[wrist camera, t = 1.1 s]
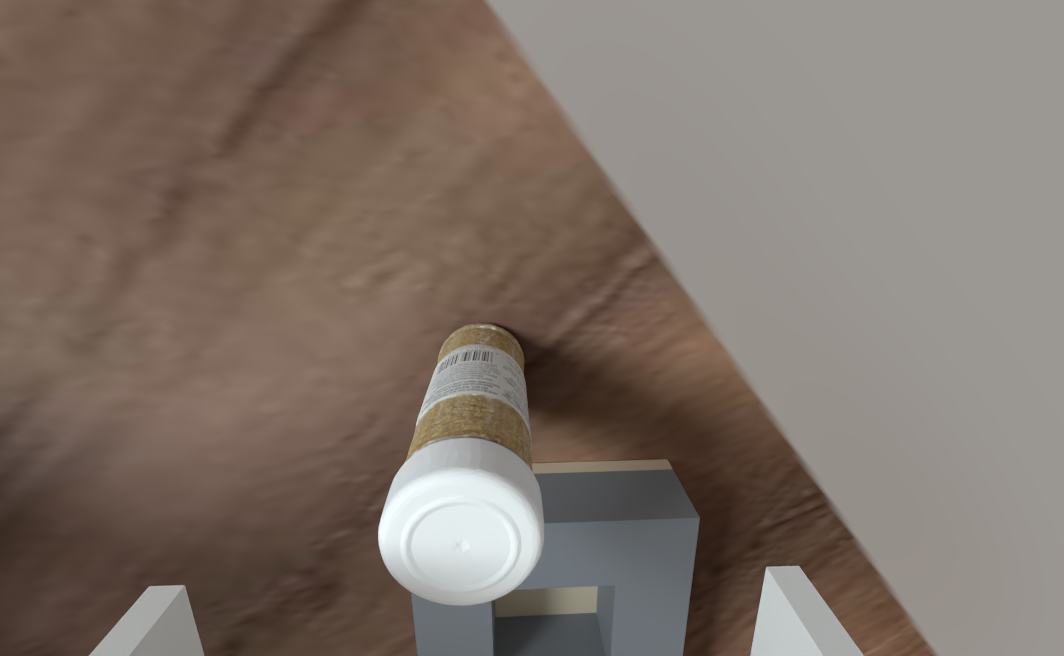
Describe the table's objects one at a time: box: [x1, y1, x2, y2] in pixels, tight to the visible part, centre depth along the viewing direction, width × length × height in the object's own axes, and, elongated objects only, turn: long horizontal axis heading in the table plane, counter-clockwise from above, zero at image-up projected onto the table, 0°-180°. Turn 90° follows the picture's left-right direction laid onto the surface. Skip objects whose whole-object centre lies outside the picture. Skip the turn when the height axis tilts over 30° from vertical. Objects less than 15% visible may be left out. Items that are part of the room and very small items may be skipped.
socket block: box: [411, 459, 700, 656], centre depth 28 cm, size 14×14×5 cm
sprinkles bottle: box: [378, 323, 544, 606], centre depth 19 cm, size 5×5×13 cm
